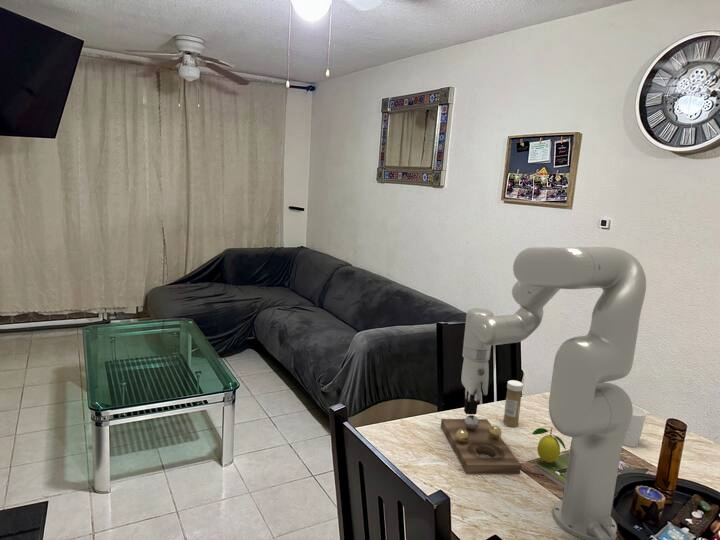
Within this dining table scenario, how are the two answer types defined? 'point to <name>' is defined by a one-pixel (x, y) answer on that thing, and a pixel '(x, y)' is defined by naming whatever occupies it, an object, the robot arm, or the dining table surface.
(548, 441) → the lemon
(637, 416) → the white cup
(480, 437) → the plate
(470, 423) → the steel ball
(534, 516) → the dining table surface
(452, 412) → the dining table surface
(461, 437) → the brass ball
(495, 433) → the brass ball
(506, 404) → the sprinkles bottle
